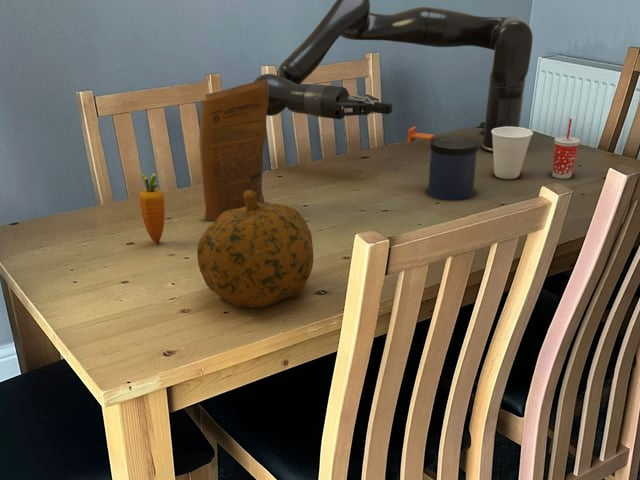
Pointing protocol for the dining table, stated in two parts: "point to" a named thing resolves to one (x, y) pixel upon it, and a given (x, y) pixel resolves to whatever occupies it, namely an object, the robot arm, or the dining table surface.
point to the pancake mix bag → (232, 146)
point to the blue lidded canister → (452, 167)
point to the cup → (509, 150)
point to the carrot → (152, 208)
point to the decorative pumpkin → (256, 253)
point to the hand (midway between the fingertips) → (390, 109)
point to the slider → (417, 135)
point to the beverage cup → (564, 155)
